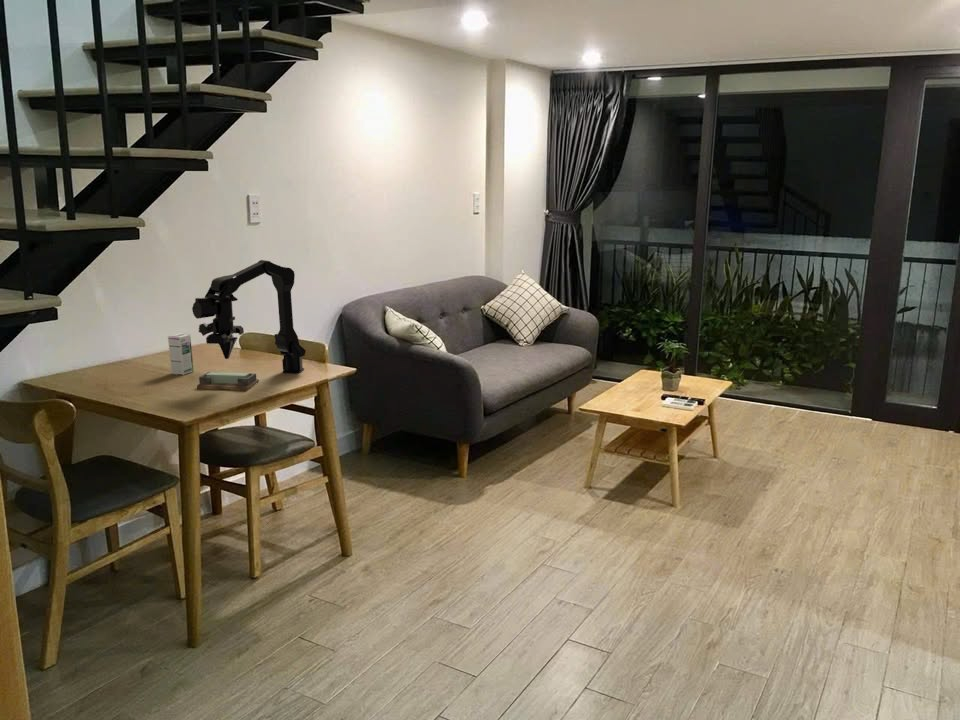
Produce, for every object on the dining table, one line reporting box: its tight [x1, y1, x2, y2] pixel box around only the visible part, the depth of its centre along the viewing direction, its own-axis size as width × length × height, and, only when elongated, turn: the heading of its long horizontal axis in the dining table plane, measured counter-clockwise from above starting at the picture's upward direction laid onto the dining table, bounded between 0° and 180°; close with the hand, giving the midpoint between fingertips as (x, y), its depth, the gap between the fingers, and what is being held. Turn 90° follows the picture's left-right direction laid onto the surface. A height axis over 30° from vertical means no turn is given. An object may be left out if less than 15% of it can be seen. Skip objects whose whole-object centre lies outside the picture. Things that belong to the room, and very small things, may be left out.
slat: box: [206, 371, 249, 384], centre depth 283 cm, size 14×4×3 cm, turn 86°
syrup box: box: [167, 332, 194, 376], centre depth 299 cm, size 6×6×14 cm
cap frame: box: [196, 371, 260, 391], centre depth 283 cm, size 18×11×4 cm, turn 85°
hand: (226, 358), depth 281 cm, fingers closed
